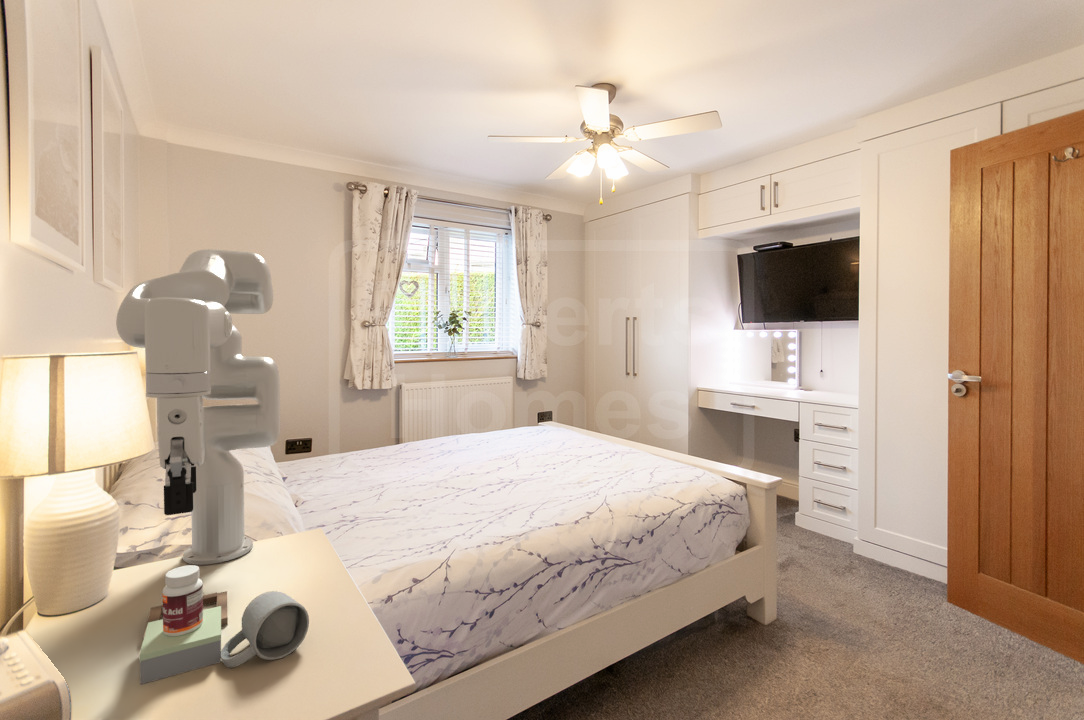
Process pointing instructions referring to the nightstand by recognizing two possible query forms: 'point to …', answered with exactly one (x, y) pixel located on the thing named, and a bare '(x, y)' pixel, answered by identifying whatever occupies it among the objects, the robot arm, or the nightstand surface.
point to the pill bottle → (182, 601)
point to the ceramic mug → (268, 629)
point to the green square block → (180, 648)
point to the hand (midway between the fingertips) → (181, 502)
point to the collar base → (207, 600)
